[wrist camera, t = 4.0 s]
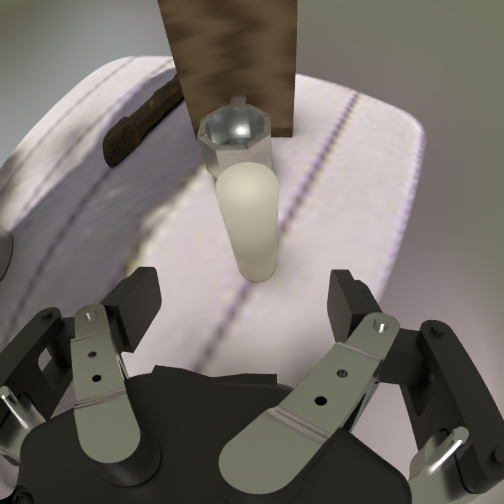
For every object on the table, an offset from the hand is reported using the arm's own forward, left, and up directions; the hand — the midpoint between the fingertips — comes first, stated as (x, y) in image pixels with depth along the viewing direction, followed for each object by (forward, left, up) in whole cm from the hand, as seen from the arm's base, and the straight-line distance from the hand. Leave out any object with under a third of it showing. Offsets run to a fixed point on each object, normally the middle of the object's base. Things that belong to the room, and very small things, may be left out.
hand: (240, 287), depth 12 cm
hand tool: (-15, +27, -13) cm, 34 cm away
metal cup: (-2, +18, -10) cm, 21 cm away
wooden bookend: (-2, +25, -12) cm, 28 cm away
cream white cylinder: (0, +6, -12) cm, 14 cm away
